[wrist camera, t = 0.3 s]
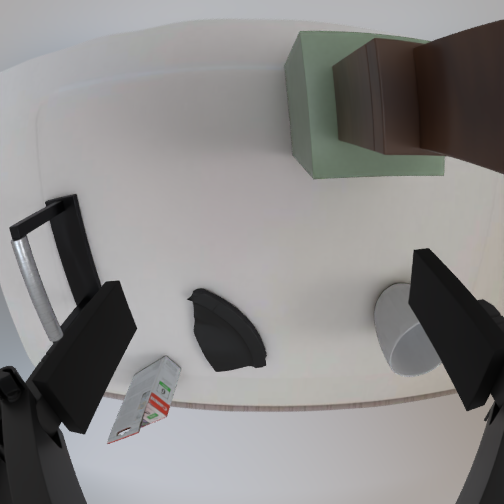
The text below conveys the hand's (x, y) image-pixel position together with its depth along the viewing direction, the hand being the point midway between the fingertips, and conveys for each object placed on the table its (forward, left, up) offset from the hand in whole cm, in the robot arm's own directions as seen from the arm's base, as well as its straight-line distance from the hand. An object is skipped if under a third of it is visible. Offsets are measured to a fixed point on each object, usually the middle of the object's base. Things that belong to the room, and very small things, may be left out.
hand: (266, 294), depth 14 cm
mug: (+19, +17, -23) cm, 34 cm away
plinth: (-7, +9, -23) cm, 26 cm away
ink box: (+25, -21, -23) cm, 40 cm away
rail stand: (+4, -26, -23) cm, 35 cm away
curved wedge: (+19, -8, -23) cm, 31 cm away
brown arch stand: (-7, +9, -9) cm, 15 cm away
